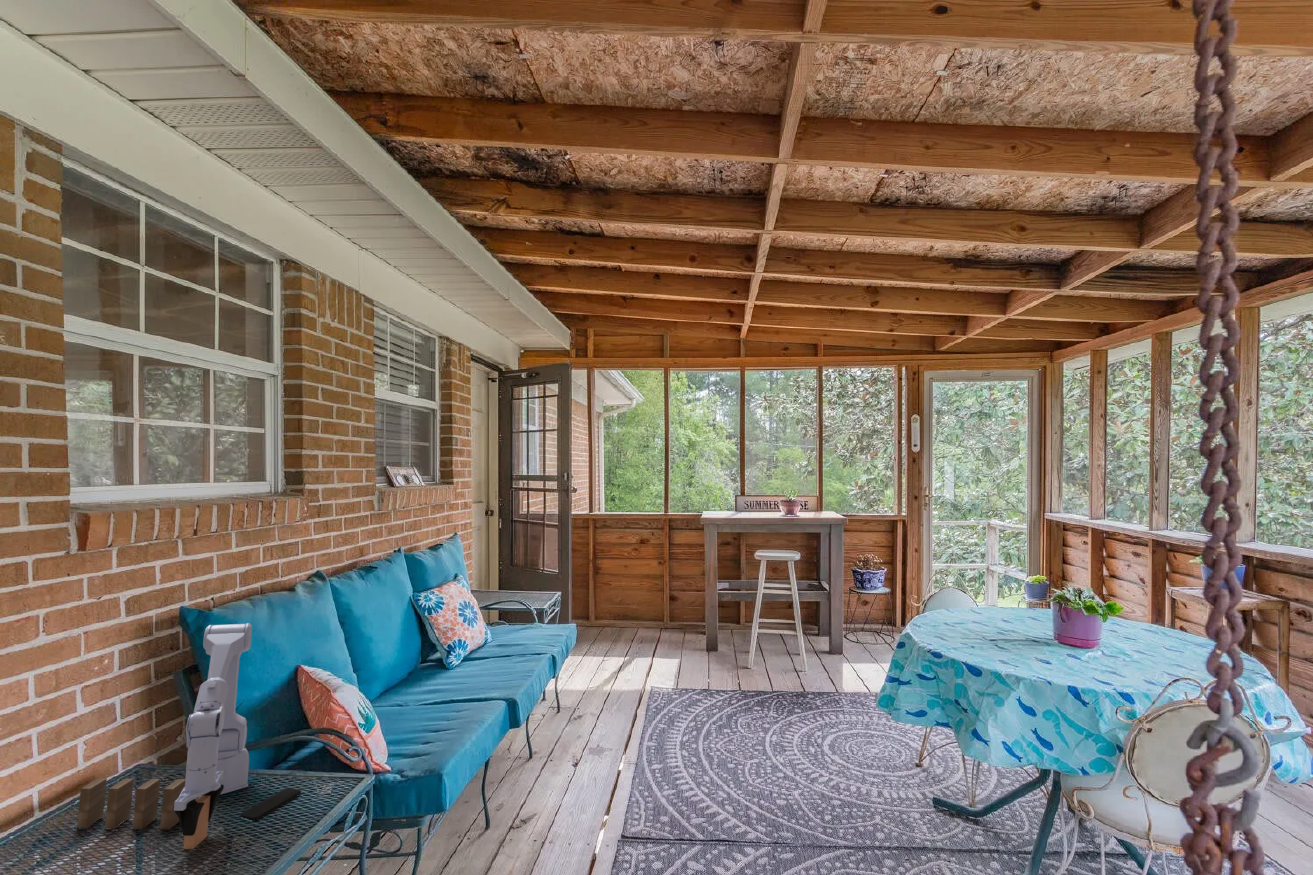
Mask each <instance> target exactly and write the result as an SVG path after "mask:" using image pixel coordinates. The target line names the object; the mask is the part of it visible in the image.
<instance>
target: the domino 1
mask: <svg viewBox="0 0 1313 875" xmlns="http://www.w3.org/2000/svg"><path fill="white" fill-rule="evenodd" d="M107 781H108V780H107V778H96V779H95V780H93V781H91V782H90V783H88V784H86V785H85V786H83V787H81V788H80V793H79V794H80V795H79V801H78V802H79V804H78V806H79V807H78V812H77V813H78V815H77V823H76V824H77V826H76V829H77V828H78V827H81V828H87V827H88V826H90V825H91V824H93V823H94V822H96V821H97V820H99V819H100V818H101V817H103V818H104V813H105V812H104V810H105V803H106V802H105V800H106V790H107ZM99 821H100V820H99ZM96 823H97V822H96ZM93 825H94V824H93ZM90 827H91V826H90ZM87 829H88V828H87Z"/></svg>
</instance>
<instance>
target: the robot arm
mask: <svg viewBox="0 0 1313 875" xmlns="http://www.w3.org/2000/svg"><path fill="white" fill-rule="evenodd" d="M203 633H204V634H203V642H202V646H203V649H204V650H205V654H206V655H207V656H210V659H209V666H208V667H209V668H208V673H207V680H205V681H204V682H203V683H201V684H200V685H199V689H198V694H197V697H196V701H195V704H194V709H193V713H190V714H189V716H188V718H187V722H186V726H185V727H186V728H185V735H186V745H185V746H186V748H187V757H186V768H185V778H184V779H185V787H184V788H183V790H182V792H181V794H180V796H179V798H178V799H177V800H176V801H175V802H174V805H173V810H174V812H175V813H176V814H177V816H178V818H179V824H180V827H181V832H182V836H183V837H185V836H192V835H194V834H195V831H196V828H197V823H198V818H199V815H200V812H201V810H202V807H203V806H204V804H205V803H197V801H196V799H197V798H199V797H200V796H202V795H210V806H209V817H208V823H209V822H210V821H211V819H212V815H213V813H214V810H215V807H216V804H217V802H218V799H219V797H220V796H221V795H223V794H228V793H230V792H234V791H237V790H241V789H245V788H247V787H249V784H248V780H249V778H248V777H249V769H250V768H249V767H250V756H249V751H248V750H247V748H246V744H247V743H246V742H247V736H248V734H247V733H248V727H247V724H248V722H247V721H248V720H247V719H246V717H244V716H242V715H240V714H238V713H237V712H236V710H237V709H236V708H237V696H238V681H239V669H240V658H241V656H242V653H245V652H247V651H249V650H250V648H251V646H252V636H253V625H252V624H251V623H250V622H247V623H232V624H209V625H208V626H206V628H205V630H204V632H203Z"/></svg>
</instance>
